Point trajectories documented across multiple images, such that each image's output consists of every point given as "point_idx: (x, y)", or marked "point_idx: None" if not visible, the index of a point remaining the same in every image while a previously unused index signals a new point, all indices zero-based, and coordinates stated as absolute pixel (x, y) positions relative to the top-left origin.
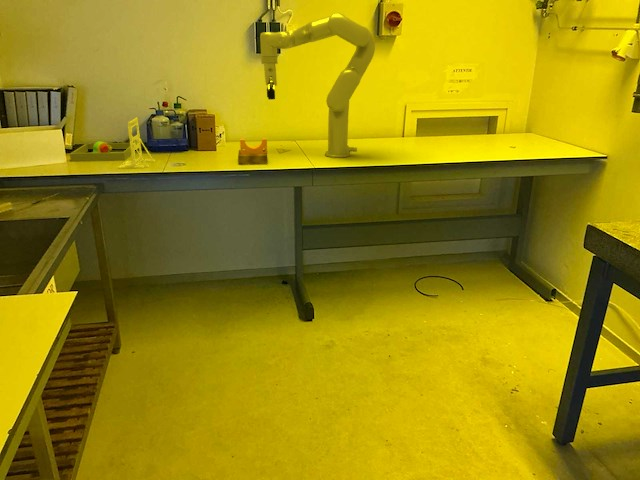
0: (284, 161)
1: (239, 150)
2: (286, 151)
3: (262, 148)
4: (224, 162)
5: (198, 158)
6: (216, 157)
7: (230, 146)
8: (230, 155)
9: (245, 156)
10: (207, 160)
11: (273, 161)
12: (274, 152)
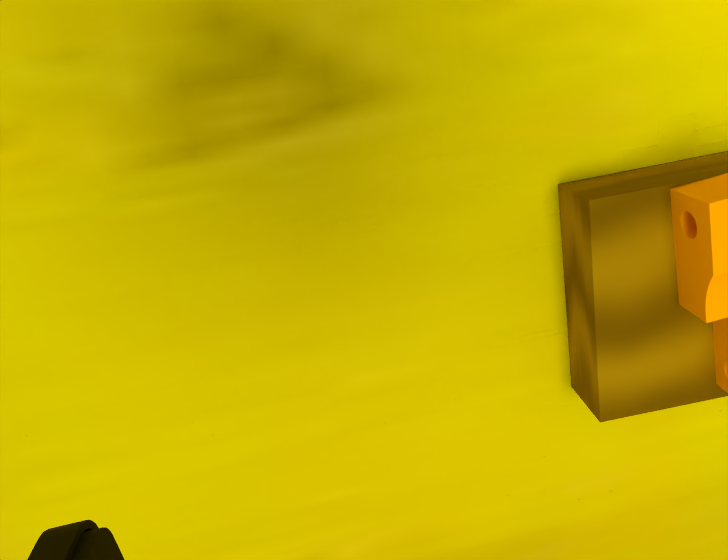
0: (698, 2)
1: (621, 414)
2: (264, 41)
3: None
4: (693, 447)
5: None
6: (540, 532)
7: (144, 550)
8: (474, 468)
9: None
10: (628, 555)
11: (690, 105)
12: (328, 156)
